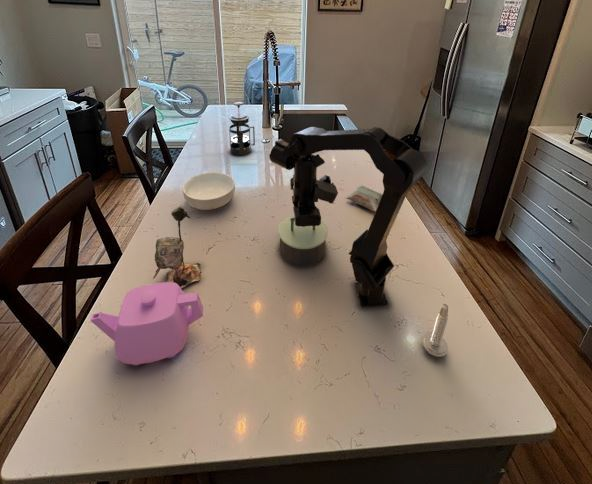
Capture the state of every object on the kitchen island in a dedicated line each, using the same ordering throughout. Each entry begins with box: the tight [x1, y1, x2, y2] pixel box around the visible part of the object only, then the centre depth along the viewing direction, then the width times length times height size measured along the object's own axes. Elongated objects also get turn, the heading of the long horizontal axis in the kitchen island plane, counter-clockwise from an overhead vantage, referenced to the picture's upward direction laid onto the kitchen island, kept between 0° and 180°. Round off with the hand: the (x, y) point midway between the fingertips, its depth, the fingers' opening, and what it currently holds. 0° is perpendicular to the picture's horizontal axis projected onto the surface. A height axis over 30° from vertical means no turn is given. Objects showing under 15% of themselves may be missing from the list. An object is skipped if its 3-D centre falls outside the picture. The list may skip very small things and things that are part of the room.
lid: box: [277, 214, 329, 249], centre depth 90 cm, size 14×14×5 cm
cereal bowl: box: [182, 171, 236, 211], centre depth 111 cm, size 17×17×7 cm
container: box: [279, 238, 327, 268], centre depth 92 cm, size 13×13×6 cm
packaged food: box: [344, 185, 383, 212], centre depth 113 cm, size 9×12×5 cm
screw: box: [421, 303, 449, 358], centre depth 65 cm, size 13×5×5 cm
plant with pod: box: [152, 206, 202, 289], centre depth 79 cm, size 8×11×20 cm
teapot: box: [90, 281, 204, 366], centre depth 66 cm, size 20×12×13 cm, turn 104°
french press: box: [227, 101, 256, 157], centre depth 143 cm, size 12×9×23 cm
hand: (303, 225), depth 90 cm, fingers closed on lid
